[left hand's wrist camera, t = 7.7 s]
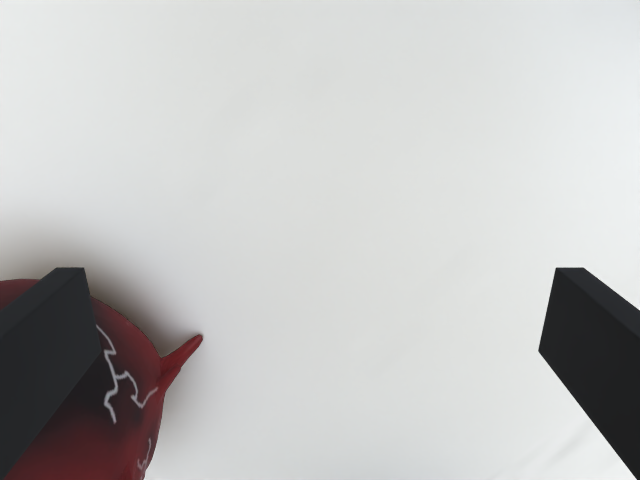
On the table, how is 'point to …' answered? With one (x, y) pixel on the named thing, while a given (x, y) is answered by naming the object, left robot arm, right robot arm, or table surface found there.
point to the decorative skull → (103, 405)
